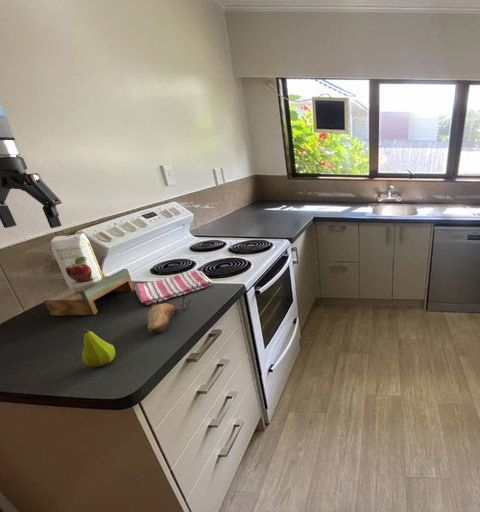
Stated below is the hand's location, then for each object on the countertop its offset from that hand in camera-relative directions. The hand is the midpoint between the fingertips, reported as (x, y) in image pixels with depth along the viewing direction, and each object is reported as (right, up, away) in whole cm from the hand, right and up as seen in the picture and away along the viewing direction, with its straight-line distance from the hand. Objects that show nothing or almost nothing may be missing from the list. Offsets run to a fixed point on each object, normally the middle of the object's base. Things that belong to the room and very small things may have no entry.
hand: (33, 226), depth 91 cm
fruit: (+37, -38, -15) cm, 55 cm away
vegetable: (+42, -31, +2) cm, 53 cm away
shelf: (+5, -26, +14) cm, 30 cm away
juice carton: (+5, -21, +12) cm, 24 cm away
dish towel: (+28, -23, +24) cm, 43 cm away
